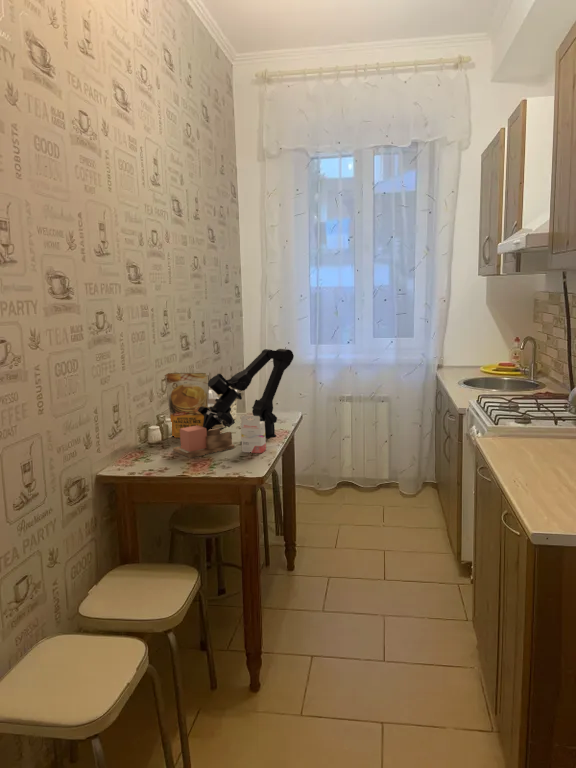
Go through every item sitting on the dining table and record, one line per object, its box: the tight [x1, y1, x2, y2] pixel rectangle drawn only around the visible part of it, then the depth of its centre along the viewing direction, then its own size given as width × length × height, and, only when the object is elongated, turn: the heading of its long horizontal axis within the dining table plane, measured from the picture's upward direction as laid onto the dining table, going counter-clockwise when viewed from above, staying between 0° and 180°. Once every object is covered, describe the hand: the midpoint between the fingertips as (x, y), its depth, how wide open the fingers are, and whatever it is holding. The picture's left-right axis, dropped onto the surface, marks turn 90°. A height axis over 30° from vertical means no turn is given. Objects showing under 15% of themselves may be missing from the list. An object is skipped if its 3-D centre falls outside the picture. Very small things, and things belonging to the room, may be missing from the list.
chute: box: [172, 428, 235, 459], centre depth 237 cm, size 20×14×6 cm
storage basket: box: [208, 389, 238, 429], centre depth 281 cm, size 24×16×15 cm
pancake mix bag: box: [164, 372, 210, 439], centre depth 257 cm, size 7×19×28 cm, turn 81°
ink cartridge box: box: [240, 414, 267, 454], centre depth 231 cm, size 9×5×15 cm, turn 70°
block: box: [179, 425, 207, 452], centre depth 234 cm, size 8×7×8 cm
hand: (202, 432), depth 236 cm, fingers closed, pressing on block
